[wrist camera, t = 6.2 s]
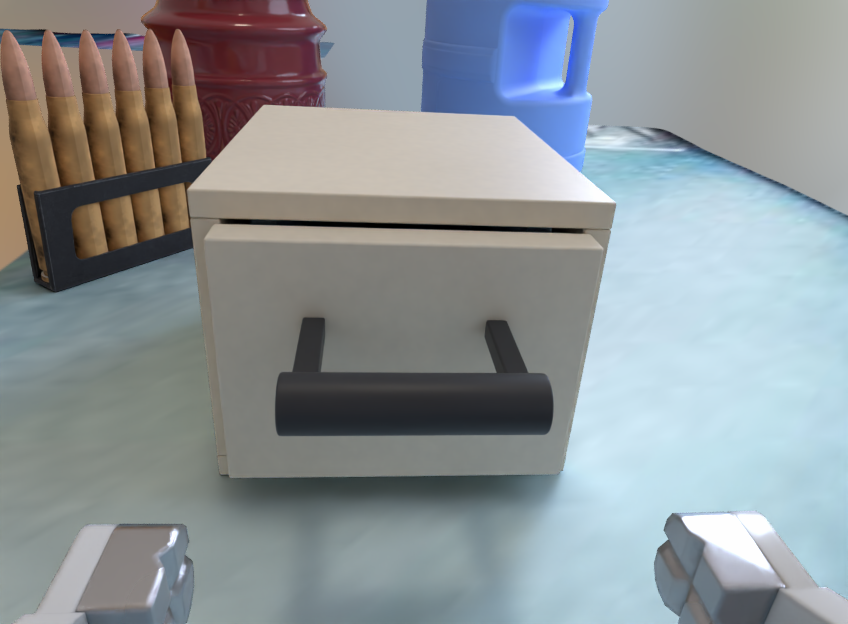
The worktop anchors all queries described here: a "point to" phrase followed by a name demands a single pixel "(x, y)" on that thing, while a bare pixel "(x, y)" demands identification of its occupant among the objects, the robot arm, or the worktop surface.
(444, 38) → the water jug
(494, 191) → the small drawer cabinet
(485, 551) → the worktop surface
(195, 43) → the kitchen canister
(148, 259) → the ammunition clip
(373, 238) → the cabinet drawer
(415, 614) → the worktop surface
